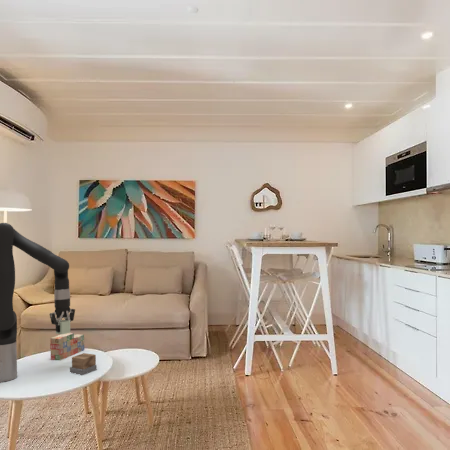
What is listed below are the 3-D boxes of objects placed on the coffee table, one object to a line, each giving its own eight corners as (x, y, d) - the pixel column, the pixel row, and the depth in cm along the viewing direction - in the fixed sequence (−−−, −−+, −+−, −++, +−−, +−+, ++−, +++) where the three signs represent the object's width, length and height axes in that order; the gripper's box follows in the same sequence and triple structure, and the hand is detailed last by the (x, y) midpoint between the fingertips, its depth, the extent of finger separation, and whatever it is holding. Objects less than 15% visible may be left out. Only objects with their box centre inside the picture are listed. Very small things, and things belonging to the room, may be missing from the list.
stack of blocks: (76, 349, 249) (75, 328, 250) (84, 350, 247) (84, 329, 248) (50, 360, 229) (49, 337, 229) (59, 360, 227) (59, 338, 227)
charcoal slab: (82, 376, 202) (81, 370, 202) (69, 373, 206) (69, 367, 206) (96, 370, 209) (96, 364, 209) (84, 368, 214) (84, 362, 214)
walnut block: (83, 369, 203) (83, 359, 203) (72, 367, 206) (71, 357, 206) (95, 364, 210) (95, 354, 210) (84, 362, 214) (83, 353, 214)
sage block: (62, 334, 209) (61, 322, 209) (55, 333, 211) (55, 321, 212) (70, 332, 213) (70, 320, 213) (64, 331, 216) (63, 319, 216)
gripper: (69, 295, 221) (70, 327, 220) (45, 299, 209) (46, 333, 208) (78, 296, 217) (79, 328, 216) (54, 300, 205) (55, 335, 204)
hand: (63, 330), depth 212 cm, fingers closed on sage block, 5 cm apart
